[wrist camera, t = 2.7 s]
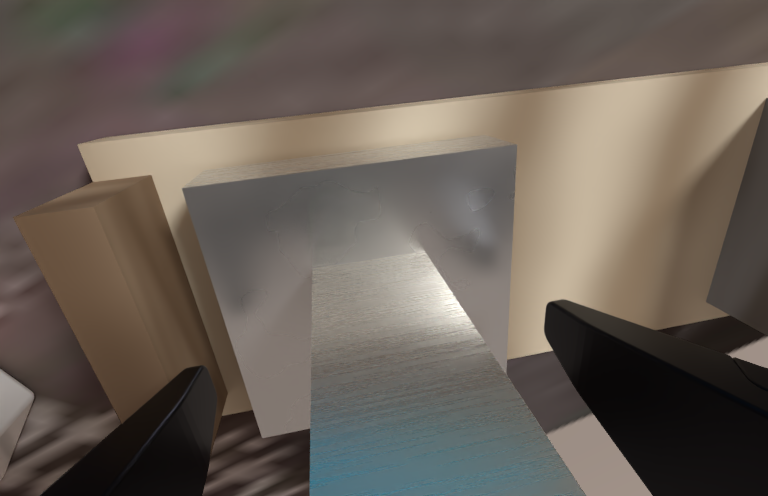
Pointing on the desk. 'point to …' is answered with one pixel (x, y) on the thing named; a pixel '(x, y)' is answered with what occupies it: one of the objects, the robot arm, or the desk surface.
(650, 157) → the base
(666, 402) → the robot arm
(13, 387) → the jar
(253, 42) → the desk surface
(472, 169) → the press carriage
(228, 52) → the desk surface
